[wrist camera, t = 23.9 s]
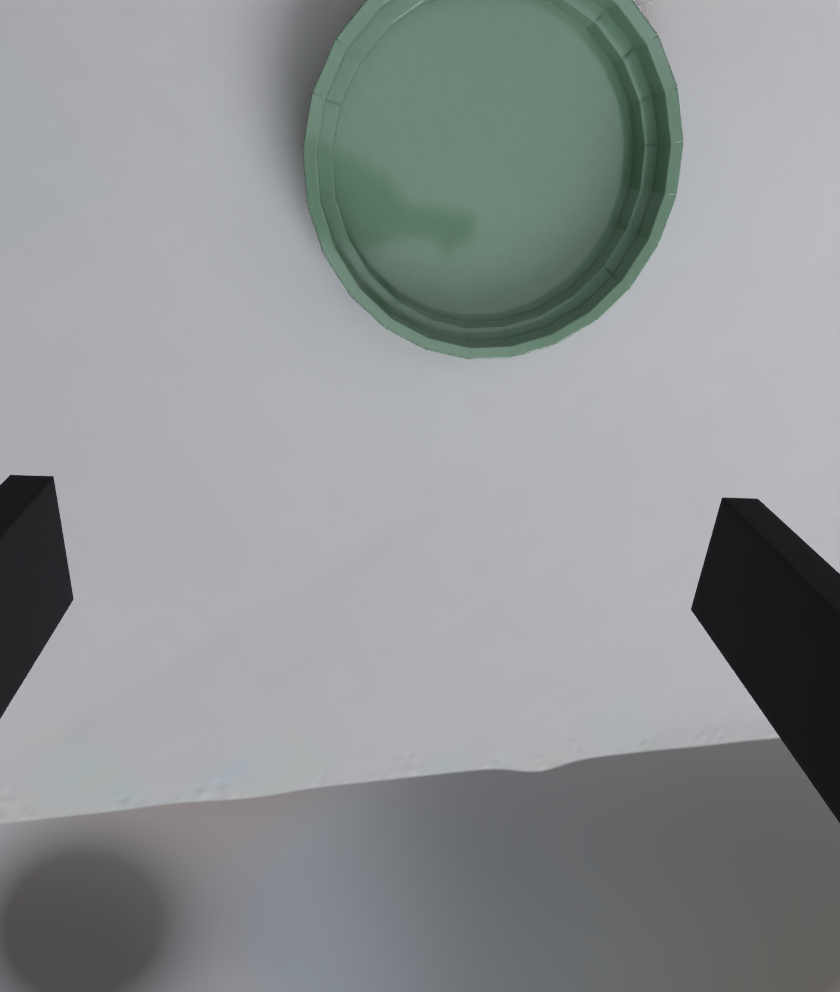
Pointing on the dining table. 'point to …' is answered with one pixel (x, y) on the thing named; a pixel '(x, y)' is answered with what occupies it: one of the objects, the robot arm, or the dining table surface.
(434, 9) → the sage bowl
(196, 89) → the dining table surface
